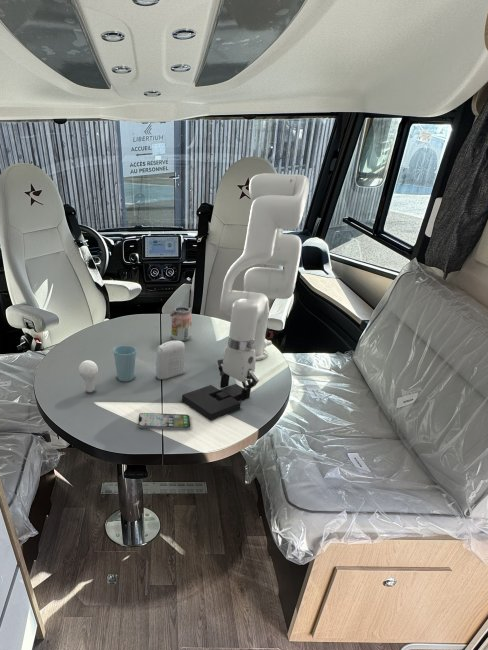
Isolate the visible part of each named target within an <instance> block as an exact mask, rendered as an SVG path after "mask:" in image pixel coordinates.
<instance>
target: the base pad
mask: <svg viewBox="0 0 488 650" xmlns="http://www.w3.org/2000/svg"><path fill="white" fill-rule="evenodd" d="M217 393H220V389H219V388H217V387H215V386H214V385H212V384H209V385H205V386H203V387H201V388H197V389H193V390H191V391H189V392H186V393H183V394H181V403H183V404H184V405H186V406H188V407H189V408H190V409H192V410H193V411H195V412H196V413H198V414H199V415H201V416H202V417H204V418H205V419H207V420H208V421H210V422H212V421H214V420H218V419H220V418H222V417H225V416H227V415H229V414H232V413H235V412H237V411H240V410H241V404H242V402H241V401H238V400H236V399H234V398H232V397H229V398H226V399H223V400H221V401H218V400H216V394H217Z"/></svg>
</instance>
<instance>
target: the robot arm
mask: <svg viewBox="0 0 488 650" xmlns="http://www.w3.org/2000/svg"><path fill="white" fill-rule="evenodd" d="M248 192H249V193H248V194H249V197H250V201H251V207H250V211H249V218H248V224H247V229H246V235H245V240H244V247H243V252H242V254H241V255H240V256H239V258H237V259H236V260H235V261H234V262H233V263H232V265H231V266H230V267H229V269H228V270H227V272H226V274H225V276H224V279H223V281H222V282H223V283H222V288H221V296H220V300H219V310H220V312H221V314H222V315H224V316H226V317H230V325H229V333H228V341H227V343H226V347H225V349H224V354H223V358H220V359H217V365H218V366H217V367H218V371H219V376H220V385H219V388H220V389H223V388H225V387H228V386H230V378H232V379H235V380H236V381H238V382H240V383H241V384H242V387H243V388H244V389H242V395H241V401H243V402H244V401H247V400H248V399H250V398H251V397H250V396H251V390H252V389H253V388H255V387H256V386H257V384H258V383H259V382H260V379H259V377H258V376H257V375H256V373H255V371H256V370H255V369H256V361H261V360H264V359H265V358H266V357H267V355H268V354H267V350H266V348H267V347H270V346H272V344H273V342H272V340H270V339H269V340H266V335H267V329H268V323H269V322H268V321H269V317H270V316H269V315H270V300H269V299H277V300H288V299H290V298H291V297H292V296H293V294H294V291H295V288H296V282H297V279H298V272H299V268H300V262H301V255H302V248H303V244H302V243H303V241H302V239H301V238H300V236H298V235H296V234H289V233H282V230H291V231H295V230H297V229H298V228H299V226H300V224H301V222H302V220H303V216H304V213H305V209H306V204H307V200H308V197H309V192H310V180H309V178H308V176H307V175H304V174H291V173H290V174H288V173H269V172H268V173H258V174H256V175H253V176H252V178H250V181H249V183H248ZM258 264H260V265H268V266H280V267H283V268H273V267H263V266H256V265H258ZM254 266H256V267H254ZM250 267H251V268H250ZM248 268H249V269H248ZM246 269H248V270H246ZM245 270H246V272H245V273H244V276H243V290H234V289H233V287H234V286H233V285H234V282H235V279H236V278H237V277H238V275H239V274H240V273H241V272H243V271H245Z"/></svg>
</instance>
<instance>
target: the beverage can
mask: <svg viewBox="0 0 488 650" xmlns="http://www.w3.org/2000/svg"><path fill="white" fill-rule="evenodd" d="M192 311H193V309H192V308H190V307H186V306H177V307H174V308H173V310H172V312H171V313H169V316H170V317H171V331H170V332H171V333H170V334H171V336H170V337H171V338H172V341H181V342H187V341H189V340H190V339H191V338H192V323H193V315H192Z"/></svg>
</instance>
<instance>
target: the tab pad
mask: <svg viewBox="0 0 488 650" xmlns="http://www.w3.org/2000/svg"><path fill="white" fill-rule="evenodd" d="M242 389H244V387H243V386H241V385H239V384H237V383H234V384H231V385H228V386H227V387H224V388H220V389H219V390H220V393H217V394H216V398H215V399H216V400H218V401H221V400H223V399H226V398H229V397H232V398H234V399H236V400H238V401H239V402H241V401H242V400H241V395H242Z"/></svg>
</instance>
